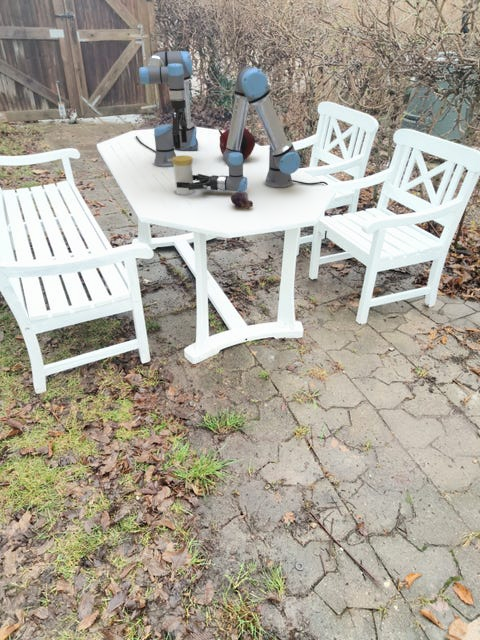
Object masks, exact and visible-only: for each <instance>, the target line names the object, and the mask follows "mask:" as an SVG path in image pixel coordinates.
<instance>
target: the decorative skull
mask: <svg viewBox="0 0 480 640" xmlns="http://www.w3.org/2000/svg"><path fill="white" fill-rule="evenodd" d="M229 129H230V128H228V129H226V130H224V131H222V130H220V129H218V133H219V135H220V136H219V150H220V152H221V154H222V155H223V153H224V152H225V151H226V145H227V140H228V135H229ZM256 142H257V141H256V137H255V135H254V134H253V133H251V131H249V130H248V129H247V128H246V127H244V131H243V136H242V141H241V146H240V151H239V153H241V154H242V155H243V161H244V160H246V159H248V158H249V157H250V156H251V155H252V153H253V151H254V149H255V147H256Z"/></svg>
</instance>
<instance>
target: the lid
mask: <svg viewBox="0 0 480 640" xmlns="http://www.w3.org/2000/svg"><path fill="white" fill-rule="evenodd" d="M193 162H194V159H193V157H192V156H191V155H176V157H173V158H172V163H173V164H175V165H189V164H192V165H193Z"/></svg>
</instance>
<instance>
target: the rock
mask: <svg viewBox="0 0 480 640" xmlns="http://www.w3.org/2000/svg"><path fill="white" fill-rule="evenodd" d="M230 200H231V203H232V204H233V206H234V207H235V208H237V209H250V208H252V207H254V205H253V204H254V203H253V201H252V200H250V199H249V195H248V192H247V191H238V192H237V191H235V192H234V193H231V195H230Z"/></svg>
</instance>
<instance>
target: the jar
mask: <svg viewBox="0 0 480 640" xmlns="http://www.w3.org/2000/svg"><path fill="white" fill-rule="evenodd" d="M173 165H174V166H173V174H174V176H173V177H174V186H175V193H176V194H177V195H182V196H183V195H184V196H187V195H191V194H193V193H194V192H195V189H194V190H189V189H188V188H177V183H176V182H184V183H188V182H189V183H194V180H193V175H194V173H193V163H192V164H189V165H175V164H173Z"/></svg>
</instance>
